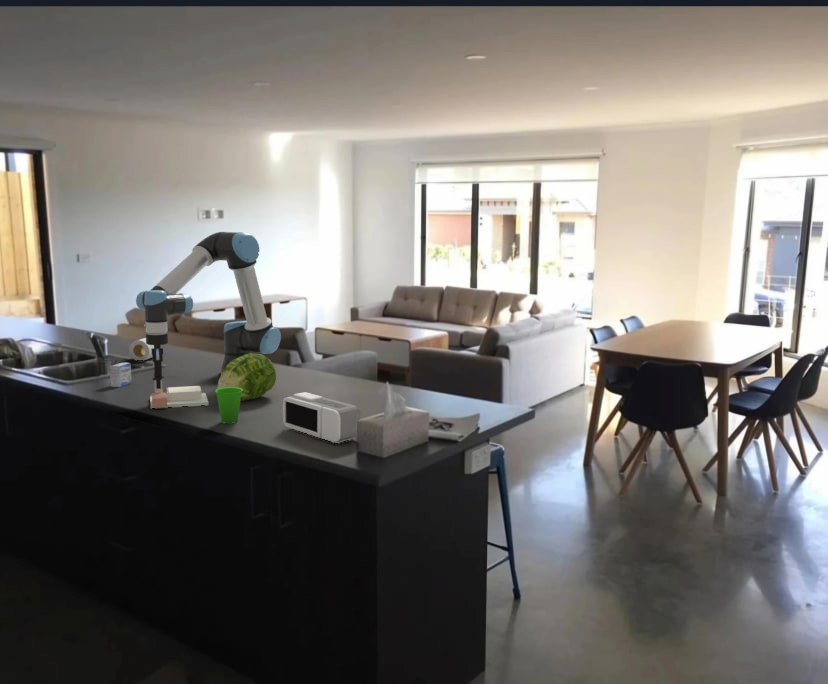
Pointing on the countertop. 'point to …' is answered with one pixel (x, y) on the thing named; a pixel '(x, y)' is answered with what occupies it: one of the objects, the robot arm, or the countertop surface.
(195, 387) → the cream flat block
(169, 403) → the board
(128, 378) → the medicine box
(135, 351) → the toilet paper
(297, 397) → the alarm clock
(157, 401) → the pink rectangular block
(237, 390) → the cup
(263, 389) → the lettuce
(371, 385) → the countertop surface
